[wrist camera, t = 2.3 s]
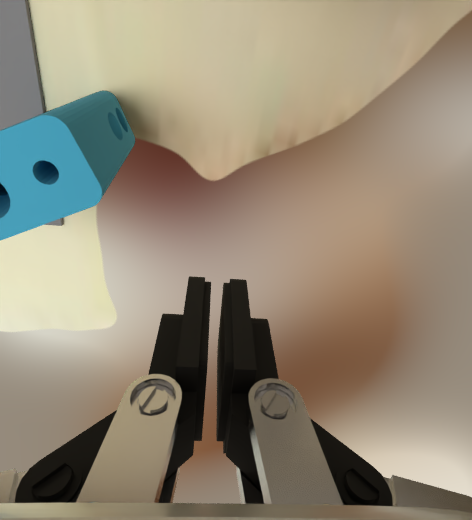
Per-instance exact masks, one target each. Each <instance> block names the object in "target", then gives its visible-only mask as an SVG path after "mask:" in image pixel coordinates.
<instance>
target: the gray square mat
mask: <svg viewBox="0 0 472 520" xmlns="http://www.w3.org/2000/svg"><path fill="white" fill-rule="evenodd" d="M45 112H46V110H45V104H44V98H43V91H42V85H41V79H40V73H39V66H38V60H37V54H36V48H35V41H34V35H33V29H32V23H31V16H30V10H29V4H28V0H0V130H2V129H5V128H7V127H10V126H12V125H15V124H17V123H20V122H22V121H25V120H27V119H30V118H32V117H35V116H37V115H40V114H42V113H45ZM63 224H64V223H63V218H60V219H57V220H55V221H52V222H49V223H46V224H44V225H58V226H62V225H63Z"/></svg>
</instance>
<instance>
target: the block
mask: <svg viewBox="0 0 472 520" xmlns="http://www.w3.org/2000/svg"><path fill="white" fill-rule="evenodd" d="M134 144H135V137H134V134H133V132H132V130H131V128H130V126H129V123H128V121H127V119H126V117H125V115H124V113H123V111H122V109H121V106H120V104H119V102H118V100H117V98H116V97H115V96H114V95H113V94H112V93H111V92H108V91H99V92H96V93H94V94H91V95H89V96H86V97H83V98H81V99H78V100H76V101H73V102H71V103H68V104H66V105H63V106H61V107H58V108H55V109H53V110H50V111H48V112H45V113H42V114H40V115H37V116H35V117H32V118H30V119H27V120H25V121H22V122H20V123H17V124H15V125H12V126H10V127H7V128H5V129H2V130H0V240H3V239H6V238H8V237H11V236H14V235H16V234H19V233H22V232H25V231H27V230H30V229H33V228H36V227H38V226H41V225H44V224H46V223H49V222H52V221H55V220H57V219H60V218H63V217H66V216H68V215H71V214H74V213H76V212H79V211H82V210H85V209H87V208H90V207H93V206H95V205H96V204H97V203H98V202H99V201H100V200H101V198H102V196H103V195H104V193H105V192H106V190H107V188H108V187H109V185H110V184H111V182H112V180H113V179H114V177H115V175H116V174H117V172H118V171H119V169H120V167H121V166H122V164H123V163H124V161H125V159H126V158H127V156H128V154H129V153H130V151H131V150H132V148H133V146H134Z"/></svg>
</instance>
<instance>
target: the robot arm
mask: <svg viewBox="0 0 472 520" xmlns="http://www.w3.org/2000/svg"><path fill="white" fill-rule="evenodd" d="M210 294H211V282H205V278H204V277H189V280H188V287H187V294H186V301H185V307H184V314H183V315H179V314H163V315H162V318H161V322H160V326H159V331H158V335H157V340H156V344H155V349H154V353H153V357H152V362H151V366H150V370H149V375H146V376H143V377H141V378H139V379H137V380H135V381H134V382H133V383H132V384H131V385H130V386H129V387H128V389H127V390H126V392H125V394H124V396H123V398H122V401H121V403H120V405H119V407H118V409H117V410H116V411H115V412H113V413H112V414H110V415H108V416H107V417H105V418H104V419H102V420H101V421H99V422H98V423H96V424H95V425H93V426H92V427H90V428H89V429H87V430H86V431H84V432H82V433H81V434H79V435H78V436H76V437H75V438H73V439H72V440H70V441H69V442H67V443H66V444H64V445H63V446H61V447H60V448H58V449H56V450H55V451H54V452H52V453H50V454H49V455H47V456H46V457H44V458H43V459H41V460H40V461H39V462H37V463H36V464H35V465H34V466H33V467H31V468H30V469H29V470H28V471H24V472H19V473H17V471H16V469H12V470H7V471H3V472H0V520H472V497H469V496H466V495H463V494H459V493H456V492H452V491H448V490H445V489H441V488H437V487H434V486H430V485H427V484H423V483H419V482H416V481H412V480H409V479H405V478H401V477H398V476H394V475H392V477H391V479H389V478H385V477H383V476H382V475H381V474H380V473H379V472H378V471H377V470H376V469H375V468H374V467H373V466H372V465H370V464H369V463H368V462H366V461H365V460H364V459H362V458H361V457H360V456H358V455H357V454H356V453H355V452H353V451H352V450H351V449H349V448H348V447H347V446H346V445H344V444H343V443H341V442H340V441H339V440H338V439H336V438H335V437H334V436H332V435H331V434H330V433H329V432H327V431H326V430H325V429H323V428H322V427H321V426H319V425H318V424H317V423H315V422H314V421H313V420H312V419H310V417H309V415H308V412H307V409H306V407H305V404H304V402H303V399H302V397H301V395H300V393H299V392H298V391H297V390H296V389H295V388H294V387H293V386H292V385H291V384H289V383H287V382H286V381H283V380H279V379H278V374H277V368H276V362H275V356H274V351H273V346H272V340H271V335H270V328H269V323H268V320H267V319H255V318H251V317H250V309H249V299H248V290H247V282H246V280H239V279H230V283H224V285H223V295H222V307H221V317H220V327H219V339H218V357H217V441H223V450H224V451H223V452H224V453H226V456H227V457H228V458H229V459H230V460H231V461H232V462H233V463H234V464H235V465H236V466H237V480H238V486H239V492H240V499H241V504H207V503H203V504H202V503H199V504H198V503H197V504H196V503H173V498H174V494H175V490H176V485H177V481H178V476H179V471H180V466H181V465H182V464H183V463H184V462H185V461H187V460H188V459H189V458H190V457H191V456H192V455H193V449H194V441H201V440H202V428H203V415H204V401H205V388H206V375H207V360H208V338H209V337H208V336H209V316H210Z"/></svg>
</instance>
